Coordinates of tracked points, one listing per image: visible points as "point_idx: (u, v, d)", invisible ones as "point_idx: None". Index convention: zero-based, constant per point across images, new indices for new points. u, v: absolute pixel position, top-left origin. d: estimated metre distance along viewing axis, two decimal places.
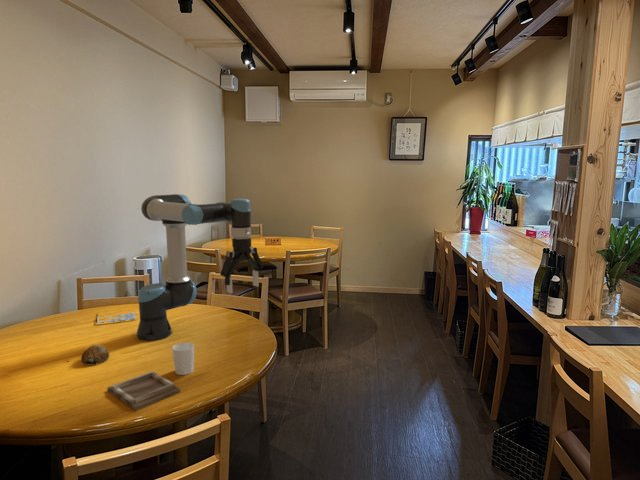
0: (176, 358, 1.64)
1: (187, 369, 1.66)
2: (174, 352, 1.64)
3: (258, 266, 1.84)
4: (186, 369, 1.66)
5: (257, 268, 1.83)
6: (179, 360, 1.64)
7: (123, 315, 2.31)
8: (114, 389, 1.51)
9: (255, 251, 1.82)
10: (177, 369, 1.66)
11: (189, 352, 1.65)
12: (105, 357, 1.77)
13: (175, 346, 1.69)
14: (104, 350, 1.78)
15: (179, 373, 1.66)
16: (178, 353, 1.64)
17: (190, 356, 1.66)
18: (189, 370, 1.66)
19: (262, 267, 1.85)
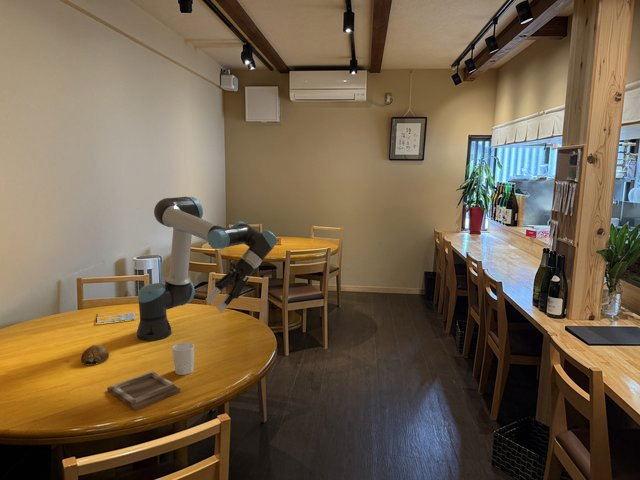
0: (176, 358, 1.64)
1: (187, 369, 1.66)
2: (174, 352, 1.64)
3: None
4: (186, 369, 1.66)
5: (222, 288, 1.80)
6: (179, 360, 1.64)
7: (123, 315, 2.31)
8: (114, 389, 1.51)
9: None
10: (177, 369, 1.66)
11: (189, 352, 1.65)
12: (105, 357, 1.77)
13: (175, 346, 1.69)
14: (104, 350, 1.78)
15: (179, 373, 1.66)
16: (178, 353, 1.64)
17: (190, 356, 1.66)
18: (189, 370, 1.66)
19: None
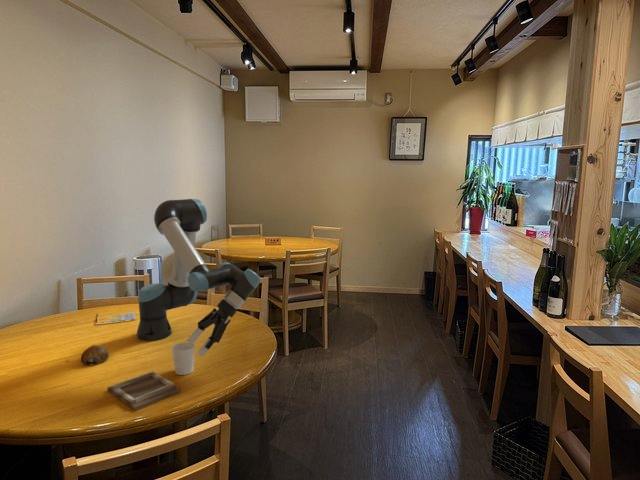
0: (176, 358, 1.64)
1: (187, 369, 1.66)
2: (174, 352, 1.64)
3: None
4: (186, 369, 1.66)
5: (204, 328, 1.77)
6: (179, 360, 1.64)
7: (123, 315, 2.31)
8: (114, 389, 1.51)
9: None
10: (177, 369, 1.66)
11: (189, 352, 1.65)
12: (105, 357, 1.77)
13: (175, 346, 1.69)
14: (104, 350, 1.77)
15: (179, 373, 1.66)
16: (178, 353, 1.64)
17: (190, 356, 1.66)
18: (189, 370, 1.66)
19: None
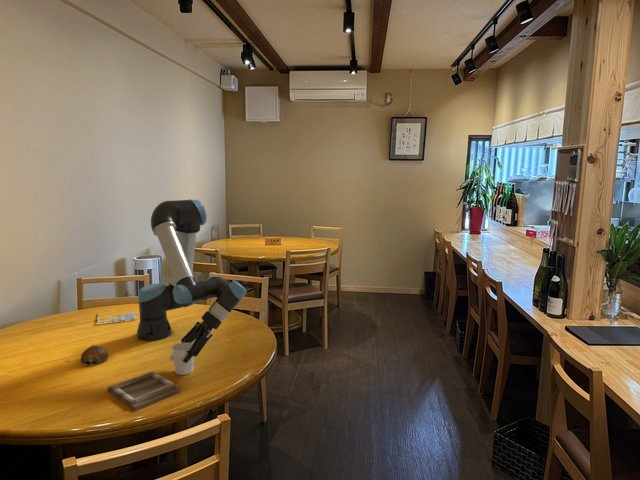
0: (176, 358, 1.64)
1: (187, 369, 1.66)
2: (174, 352, 1.64)
3: None
4: (186, 369, 1.66)
5: None
6: None
7: (123, 315, 2.31)
8: (114, 389, 1.51)
9: None
10: (177, 369, 1.66)
11: None
12: (105, 357, 1.77)
13: (175, 346, 1.69)
14: (104, 350, 1.77)
15: (179, 373, 1.66)
16: (178, 353, 1.64)
17: None
18: (189, 370, 1.66)
19: None
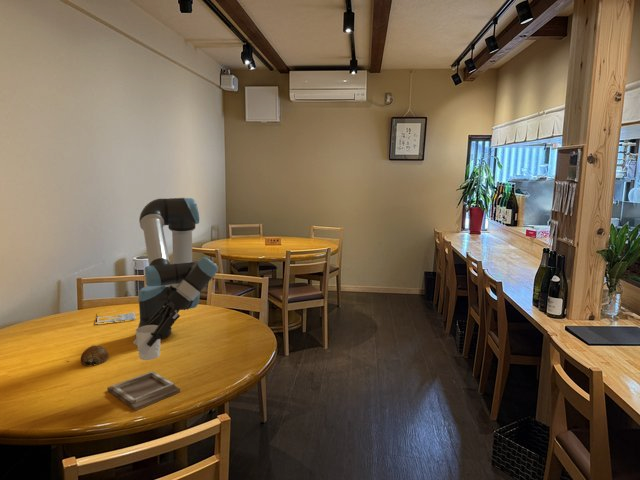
0: (140, 341, 1.49)
1: (152, 353, 1.50)
2: (137, 335, 1.49)
3: None
4: (151, 353, 1.50)
5: None
6: None
7: (123, 315, 2.31)
8: (114, 389, 1.51)
9: None
10: (141, 354, 1.50)
11: None
12: (104, 358, 1.77)
13: (139, 329, 1.53)
14: (103, 351, 1.77)
15: (143, 358, 1.50)
16: (141, 335, 1.48)
17: None
18: (155, 354, 1.51)
19: None
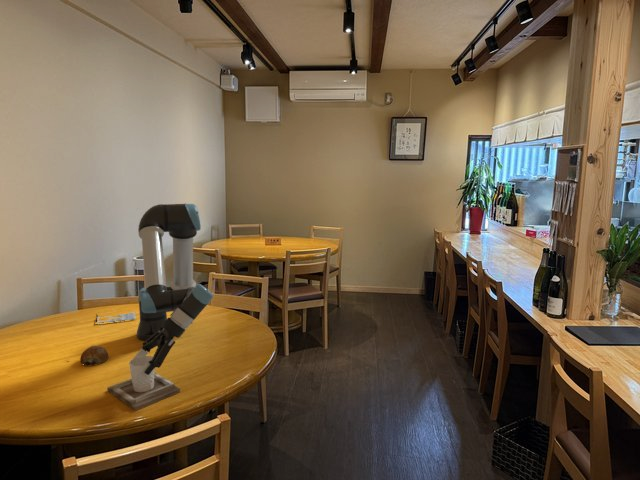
0: (133, 374, 1.49)
1: (146, 386, 1.50)
2: (131, 367, 1.49)
3: None
4: (145, 386, 1.50)
5: (149, 349, 1.59)
6: (136, 376, 1.49)
7: (123, 315, 2.31)
8: (114, 389, 1.51)
9: None
10: (135, 386, 1.50)
11: None
12: (104, 358, 1.76)
13: (133, 360, 1.53)
14: (103, 351, 1.77)
15: (137, 390, 1.50)
16: (135, 368, 1.48)
17: None
18: (148, 386, 1.51)
19: None
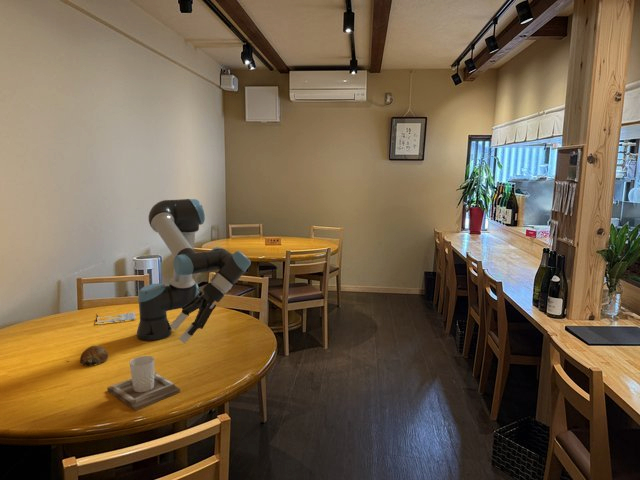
0: (133, 374, 1.49)
1: (146, 386, 1.50)
2: (131, 367, 1.49)
3: None
4: (145, 386, 1.50)
5: (188, 313, 1.65)
6: (137, 376, 1.49)
7: (123, 315, 2.31)
8: (114, 389, 1.51)
9: None
10: (135, 386, 1.50)
11: (147, 367, 1.49)
12: (104, 358, 1.76)
13: (133, 360, 1.53)
14: (103, 351, 1.77)
15: (137, 390, 1.50)
16: (135, 368, 1.48)
17: (149, 371, 1.50)
18: (148, 386, 1.51)
19: None
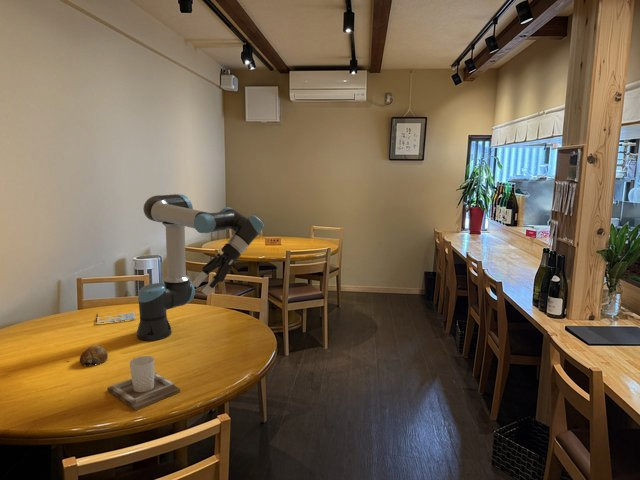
0: (133, 374, 1.49)
1: (146, 386, 1.50)
2: (131, 367, 1.49)
3: None
4: (145, 386, 1.50)
5: (208, 272, 1.82)
6: (137, 376, 1.49)
7: (123, 315, 2.31)
8: (114, 389, 1.51)
9: None
10: (135, 386, 1.50)
11: (147, 367, 1.49)
12: (104, 358, 1.76)
13: (133, 360, 1.53)
14: (103, 351, 1.77)
15: (137, 390, 1.50)
16: (135, 368, 1.48)
17: (149, 371, 1.50)
18: (148, 386, 1.51)
19: None
